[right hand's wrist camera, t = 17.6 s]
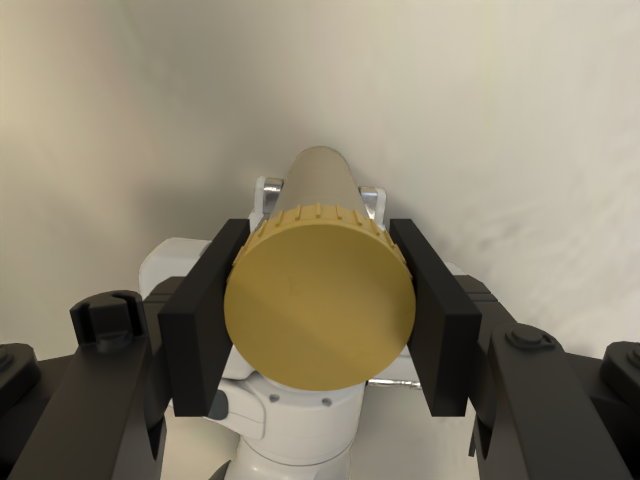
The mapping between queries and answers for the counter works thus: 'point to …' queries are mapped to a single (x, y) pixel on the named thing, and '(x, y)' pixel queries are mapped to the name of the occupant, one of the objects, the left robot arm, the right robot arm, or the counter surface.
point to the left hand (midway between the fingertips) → (320, 183)
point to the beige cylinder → (319, 183)
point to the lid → (319, 299)
